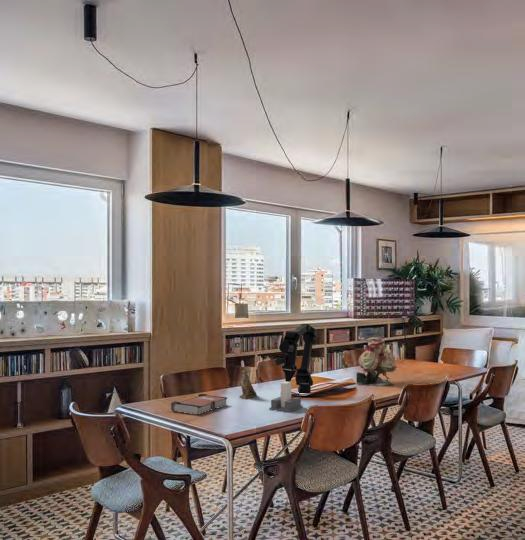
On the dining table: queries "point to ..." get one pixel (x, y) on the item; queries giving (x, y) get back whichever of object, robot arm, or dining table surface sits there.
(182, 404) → the book
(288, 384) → the grey block
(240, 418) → the dining table surface
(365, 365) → the rose bouquet
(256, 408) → the dining table surface
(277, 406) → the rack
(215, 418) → the dining table surface
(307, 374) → the robot arm
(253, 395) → the worn brown figurine
